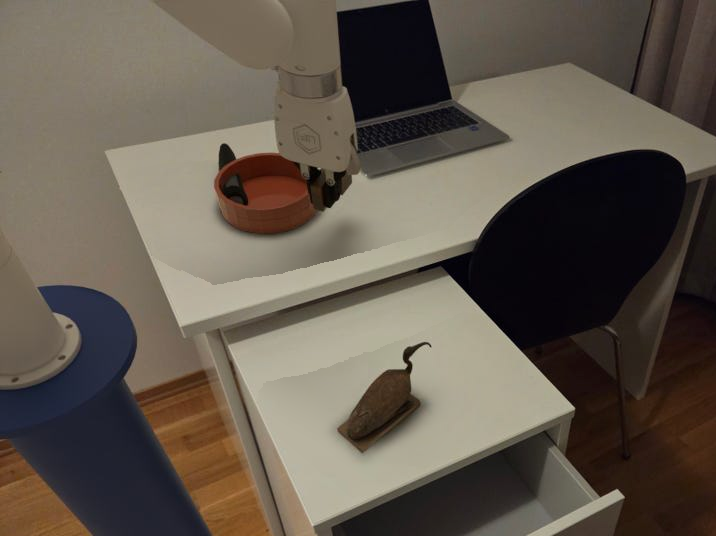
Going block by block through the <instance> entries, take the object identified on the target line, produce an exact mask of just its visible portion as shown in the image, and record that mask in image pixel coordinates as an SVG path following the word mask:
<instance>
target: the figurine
mask: <svg viewBox="0 0 716 536" xmlns="http://www.w3.org/2000/svg"><path fill="white" fill-rule="evenodd" d="M426 345H427V346H429V348H432V344H431V343H430V342H428V341H422V342H419V343H417V344H415V345H413V346H407V347H405V348H404V350H403V352H402V361H403V363H404V364H405V365H406V367H405V368H400V369H399V368H392V369H391V368H389V369H386V370H385V371H383V372H382V373H381V374H379V375H378V376H377V377H376V378H375V379H374V380H373V381H372V383H371V384H370V385H369V386H368V388H366V390H365V392H364V394H363V395H362V396H361V397H360V399H359V401H358V403H357V404H356V405H355V406H354V408H353V410H352V411H351V413H350V415H349V417H348V418H347V420H345V421H344V422H343V423H341V424H340V425H339V426H338V427H337V428H336V430H337V432H338V433H339V434H340V436H342V437H343V438H344V439H345V440H346V441H348V442H349V443H350V444H351V445H352V446H353V447H354V448H356V449H357V451H359V452H360V453H361V454H364V453H365V452H366V451H367V450H368V449H369V448H371V447H372V446H373V445H374V444H375V443H377V442H378V441H379V440H380V439H381V438H383V436H385V435H386V434H387V433H388V432H389V431H391V430H392V429H393V428H394V427H396V425H398V424H399V423H400V422H402V421H403V420H404V419H405V418H406V417H407V416H409V414H411V413H412V412H413V411H415V409H417V408H418V407H419V406H420V405H421V400H420V399H419V398H417V397H416V396H415V395H413V394H412V381H411V374H412V372H413V366H414V365H413V362H412V361H411V360H410V358H411V357H412V356H413V355H414V354H415V353H416V352H417V350H419V349H420V348H422V347H424V346H426Z"/></svg>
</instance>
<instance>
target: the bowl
mask: <svg viewBox="0 0 716 536" xmlns="http://www.w3.org/2000/svg"><path fill="white" fill-rule="evenodd" d="M237 173H238V174H239V175H240V177H241V181H242V185H243V188H244V191H245V193H246V195H247V198H248V204H247V206H245V205H241V204H237V203H235V202H233V201H231V200H229V199H227V198H226V197H225V196H224V195H223V187H224V185H225V183H226V182H227V181H228V179H229V178H230V177H231V176H234V175H235V174H237ZM213 189H214V192H215V195H216V199H217V202H218V206H219V209H220V211H221V215H222V216H223V219H225V221H226V222H227V223H229V224H230V225H231V226H233V227H234V228H236V229H239V230H241V231H245V232H249V233H253V234H254V233H255V234H277V233H282V232H287V231H290V230H293V229H296V228H299V227H300V226H302V225H304V224H306V223H307V222H308V221H310V220H311V219H312V218H313V217H314V216H315V214H316V213H317V211H318V210H315V209H314V208H313V204H311V202H310V194H308V189H307V182H306V179H304V178H303V177H302V174H301V171H300V170H299V169H298V168H297V167H296V165H295V164H294V163H293V162H292V161H290V160H288V159H286V158H284V157H282V156H281V155H280V153H279V152H259V153H253V154H248V155H244V156H241V157H239V158H236V160H234V161H232V162H231V163H229V164H227V165H226V166H224V167H223V168H222V169H221V170H220V171H219V170H218V172H217V173H216V176H215V177H214V180H213Z"/></svg>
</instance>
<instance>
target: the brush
mask: <svg viewBox="0 0 716 536" xmlns="http://www.w3.org/2000/svg"><path fill="white" fill-rule="evenodd" d="M319 170H321V172H322V173H321V174H320V175H319V177H318V178H317V179H316V180H315V181H314V182H313V183H312V185H311V193H312V200H313V208H314V209H315V210H317V211H320V212H325V211H326V209H327V207H326V206H325V198H324V189H323V184H324V183H325V182H326V175H325V169H321V168H319ZM339 184H340V196H343V195H344V194H345V193H346V192H347V190H348V189H349V188H350V187H351V185H352V184H353V175H345V176H344V177H342V178H341V179H340V180H339Z"/></svg>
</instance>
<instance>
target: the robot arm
mask: <svg viewBox="0 0 716 536" xmlns="http://www.w3.org/2000/svg"><path fill="white" fill-rule="evenodd" d="M150 1H151V3H153V4H154V5H156V6H157V7H159V8H160V9H161V10H162V11H164V12H165V13H166V14H168V15H169V16H171V18H172V19H174V20H175V21H177V22H178V23H180V24H181V25H182V26H184V27H185V28H186V29H188V30H189V31H190V32H192V33H193V34H195V35H196V36H197V37H199V38H200V39H202V40H203V41H205V42H206V43H208V44H209V45H211V46H212V47H213V48H215V49H217V50H218V51H219V52H221V53H222V54H224V55H225V56H226V57H228V58H229V59H231V60H233V61H234V62H236V63H237V64H239V65H241V66H243V67H246V68H249V69H251V70H257V71H259V70H260V71H261V70H262V71H263V70H264V71H265V70H272V71H275V72H276V73H277V74H278V80H279V81H277V82H276V84H275V86H274V94H273V95H274V97H273V121H274V123H273V124H274V133H275V141H276V147H277V152H278V153H280V155H281V156H282V157H284V158H286V159H288V160H290V161H292V162H293V163H294V164H295V165H296V167H297V168H298V169H299V170H300V171H301V174H302V177H303V178H304V179H306V182H307V189H308V194H310V202H311V204H313V200H312V193H311V185H312V183H313V182H314V181H315V180H316V179H317V178H318V177H319V175H320V174H321V173H322V172H321V170H320V169H325V175H326V182H325V183H324V184H323V189H324V198H325V206H326V209H331V208H332V207H333V206H334V205H335V203H336V202H338V201H339V200H340V199H341V195H340V184H339V180H340V179H341V178H342V177H344V176H345V175H352V176H356V175H359V174H360V172H361V171H362V170H363V166H362V163H361V161H360V159H359V156H358V150H359V148H358V136H357V135H358V134H357V128H356V121H355V114H354V110H353V105H352V102H351V98H350V95H349V92H348V88H347V87H345V86H343V78H342V77H343V76H342V63H341V52H340V40H339V39H340V38H339V26H338V25H339V23H338V12H337V0H150ZM37 287H38V286H37V285H36V283H35V281H34V280H33V279H32V277H31V275H30V273H29V272H28V271H27V269H26V267H25V266H24V264H23V262H22V261H21V259H20V257H19V256H18V255H17V253H16V251H15V249H14V248H13V247H12V245H11V243H10V242H9V241H8V239H7V237H6V236H5V234H4V233H3V231H2V230H1V228H0V389H1V390H14V389H21V388H26V387H30V386H33V385H37V384H39V383H42V382H44V381H47V380H48V379H50V378H52V377H54V376H56V375H57V374H59V373H60V372H61V371H63V370H64V369H65V368H66V367H67V366H68V365H70V364H71V363H72V361H73V360H74V359H75V357H76V356H77V354H78V352H79V350H80V348H81V343H82V337H81V333H80V331H79V329H78V327H77V326H76V324H75V323H74V322H73V321H72V320H71V319H70V318H68V317H66V316H64V315H61V314H57V313H53V312H52V311H51V309H50V308H49V306H48V304H47V303H46V301H45V299H44V298H43V296H42V295H41V293H40V291H39V290H38V288H37Z"/></svg>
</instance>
